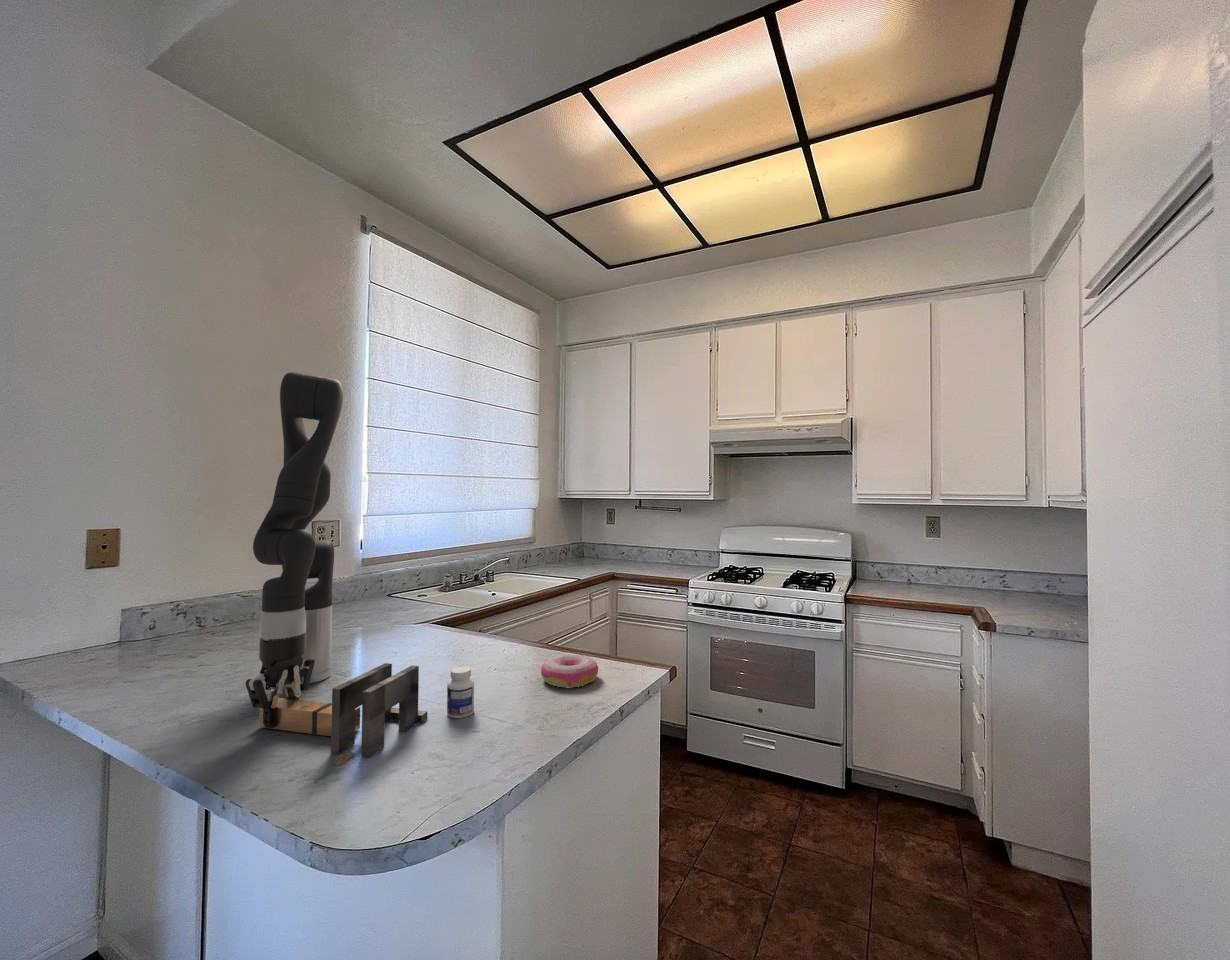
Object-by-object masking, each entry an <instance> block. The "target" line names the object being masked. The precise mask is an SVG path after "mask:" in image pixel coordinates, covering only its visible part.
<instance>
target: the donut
mask: <svg viewBox="0 0 1230 960" xmlns="http://www.w3.org/2000/svg"><path fill="white" fill-rule="evenodd" d="M598 674H599V666H598V664H597V661H595V660H594V659H593V658H591V657H589V656H586V655H581V654H562V655H561V654H560V655H556V656H552V657H550V658H549V659H547V660H546V661H545V662H544V663H543V664H542V666H541V668H540V675H541V677H542V680H543V681H544V682H546V683H547V684H548V685H549V686H552V685H553V686H552V687H555V686H557V687H556V688H559V687H564V688H563V689H567V688H566V687H569V688H568V689H571V688H570V687H578V686H582V685H585V686H587V685H586V684H588V683H590V682H591V683H593V681H595V680H596V678H597V676H598ZM591 683H590V684H591ZM588 685H589V684H588ZM582 687H583V686H582ZM578 688H579V687H578Z"/></svg>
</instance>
